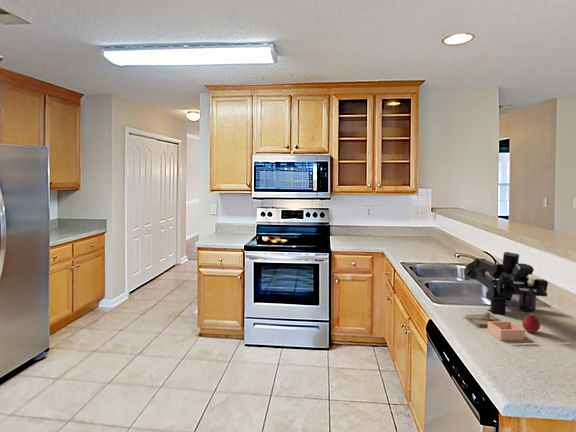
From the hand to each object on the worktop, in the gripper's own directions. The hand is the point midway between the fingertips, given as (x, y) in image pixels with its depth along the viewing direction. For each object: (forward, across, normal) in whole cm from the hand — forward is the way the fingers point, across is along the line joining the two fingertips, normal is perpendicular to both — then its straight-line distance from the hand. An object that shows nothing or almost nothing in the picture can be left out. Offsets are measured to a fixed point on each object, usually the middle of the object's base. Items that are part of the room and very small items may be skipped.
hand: (534, 294), depth 157 cm
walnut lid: (-11, -10, +17) cm, 23 cm away
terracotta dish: (+3, -10, +16) cm, 19 cm away
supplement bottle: (-28, +17, +18) cm, 38 cm away
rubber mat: (-11, -10, +18) cm, 23 cm away
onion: (-1, +2, +16) cm, 17 cm away
